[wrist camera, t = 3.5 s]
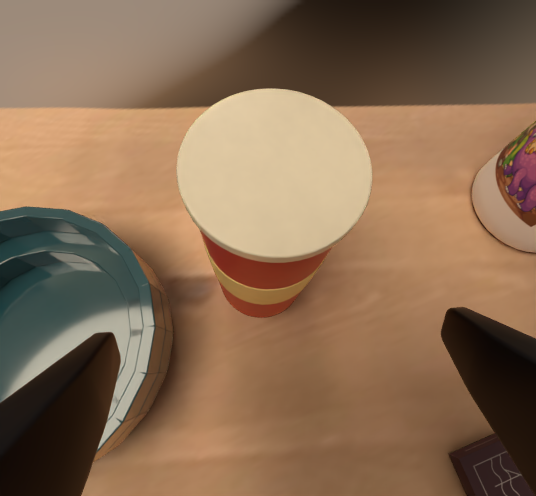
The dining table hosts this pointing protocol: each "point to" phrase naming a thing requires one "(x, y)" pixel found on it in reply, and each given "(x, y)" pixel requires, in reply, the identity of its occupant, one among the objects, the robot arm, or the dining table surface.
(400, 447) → the dining table surface
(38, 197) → the dining table surface
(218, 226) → the snack tub
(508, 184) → the milk bottle
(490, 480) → the chocolate bar
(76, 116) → the dining table surface
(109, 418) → the bowl
